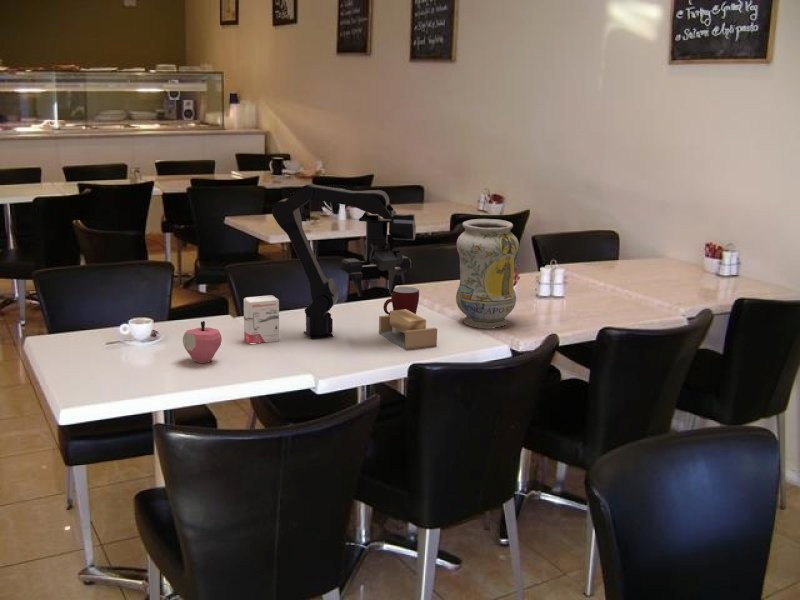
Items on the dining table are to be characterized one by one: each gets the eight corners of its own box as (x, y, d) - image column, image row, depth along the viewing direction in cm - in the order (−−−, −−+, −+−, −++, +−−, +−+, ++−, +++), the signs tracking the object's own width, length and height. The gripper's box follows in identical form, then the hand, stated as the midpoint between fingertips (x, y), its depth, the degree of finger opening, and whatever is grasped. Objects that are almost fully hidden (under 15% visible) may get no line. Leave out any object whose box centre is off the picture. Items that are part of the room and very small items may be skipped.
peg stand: (406, 350, 237) (407, 332, 236) (378, 333, 252) (379, 316, 251) (436, 346, 241) (437, 328, 240) (407, 330, 256) (407, 313, 255)
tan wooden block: (409, 336, 240) (409, 321, 239) (389, 324, 250) (389, 310, 249) (425, 334, 242) (426, 319, 241) (405, 323, 252) (406, 309, 251)
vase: (483, 335, 253) (488, 229, 246) (441, 321, 267) (444, 220, 259) (527, 325, 265) (533, 224, 257) (484, 312, 278) (489, 216, 271)
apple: (177, 360, 225) (176, 321, 222) (207, 353, 230) (206, 316, 228) (198, 369, 218) (197, 330, 216) (228, 362, 224) (227, 323, 221)
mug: (390, 328, 258) (391, 294, 255) (378, 321, 265) (379, 288, 262) (423, 324, 262) (424, 291, 260) (410, 318, 269) (411, 285, 267)
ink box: (249, 345, 239) (248, 301, 236) (243, 340, 243) (242, 297, 240) (280, 341, 243) (279, 298, 240) (273, 336, 247) (273, 294, 244)
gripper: (356, 245, 229) (355, 304, 233) (421, 241, 237) (419, 298, 241) (339, 238, 239) (339, 295, 242) (402, 234, 247) (401, 289, 251)
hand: (375, 294), depth 244 cm, fingers open, 9 cm apart
